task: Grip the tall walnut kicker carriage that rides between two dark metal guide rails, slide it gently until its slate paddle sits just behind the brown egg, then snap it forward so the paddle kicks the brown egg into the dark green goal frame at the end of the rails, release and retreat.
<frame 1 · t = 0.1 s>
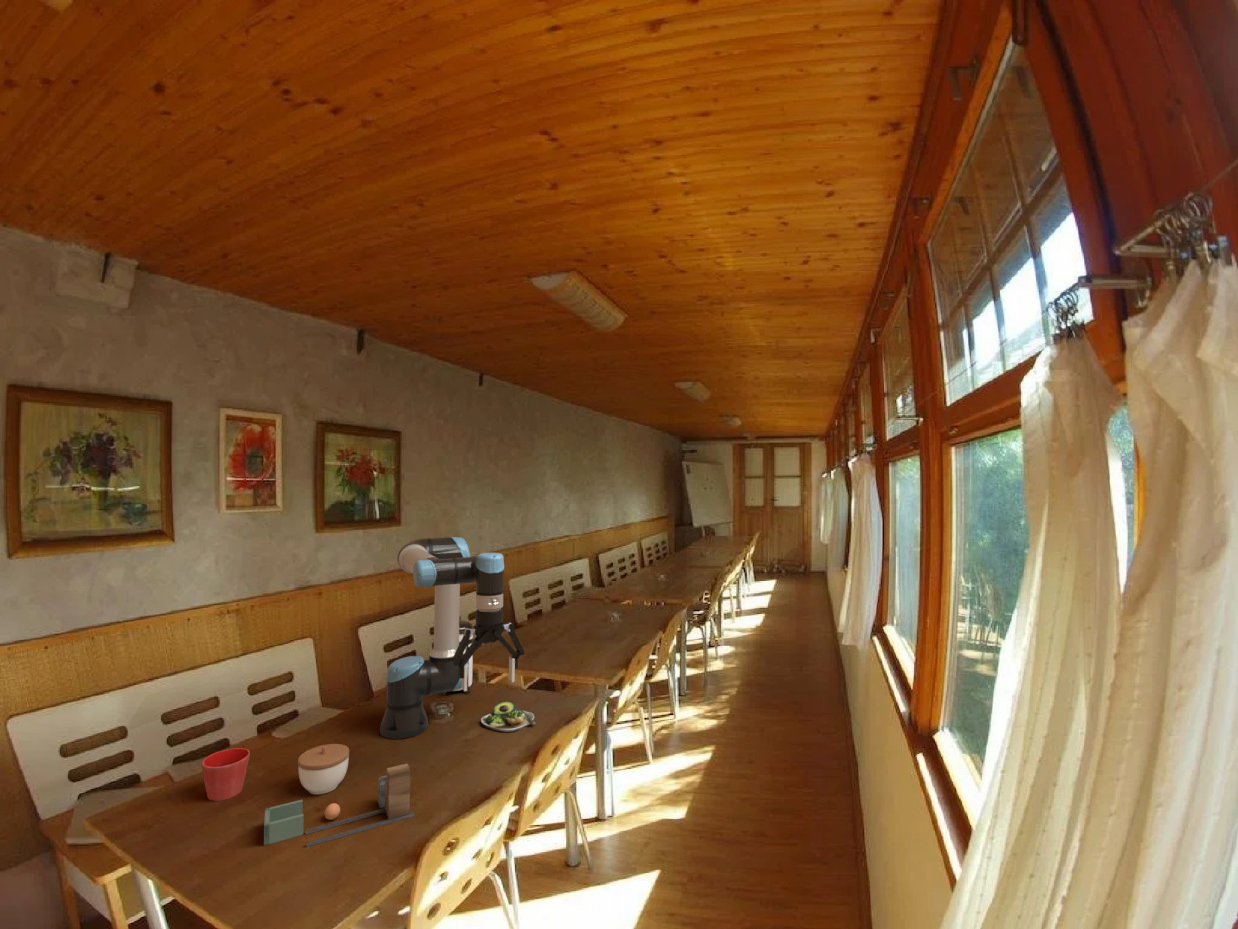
hand: (488, 685, 158), 28 cm above the table, fingers open, 13 cm apart
kicker: (393, 786, 146), point 6 cm above the table, slide at 0.0 cm
coffee press: (457, 691, 228), on the table
avocado toast plate: (507, 722, 200), on the table
lidded bowl: (323, 788, 156), on the table
goal: (283, 831, 137), on the table
guide rails: (361, 824, 140), on the table
flower pot: (225, 794, 153), on the table
brown egg: (332, 818, 142), on the table
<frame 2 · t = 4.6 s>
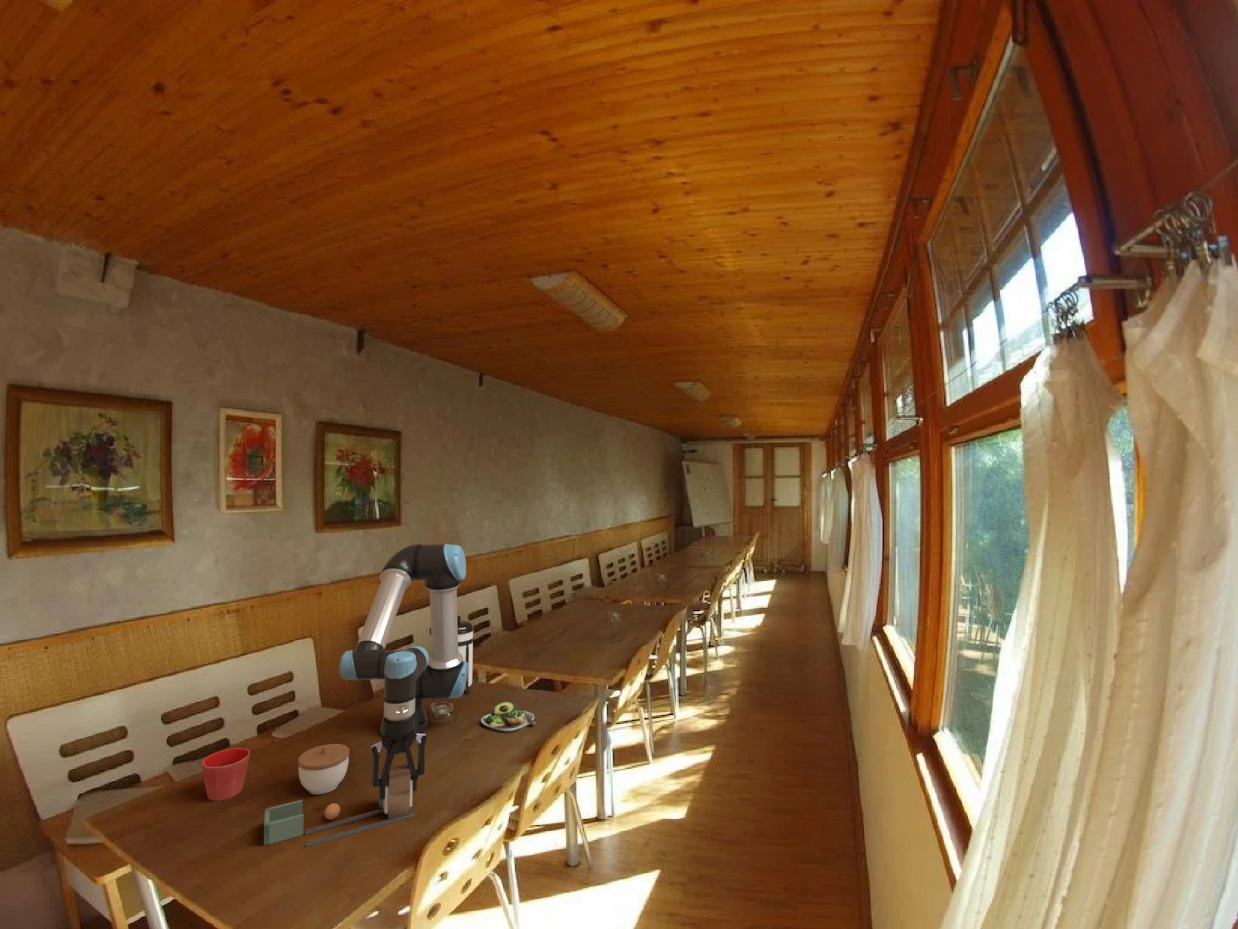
hand: (397, 807, 144), 2 cm above the table, fingers closed on kicker, 5 cm apart
kicker: (393, 786, 146), point 6 cm above the table, slide at 0.0 cm, touching gripper
everything else where it was.
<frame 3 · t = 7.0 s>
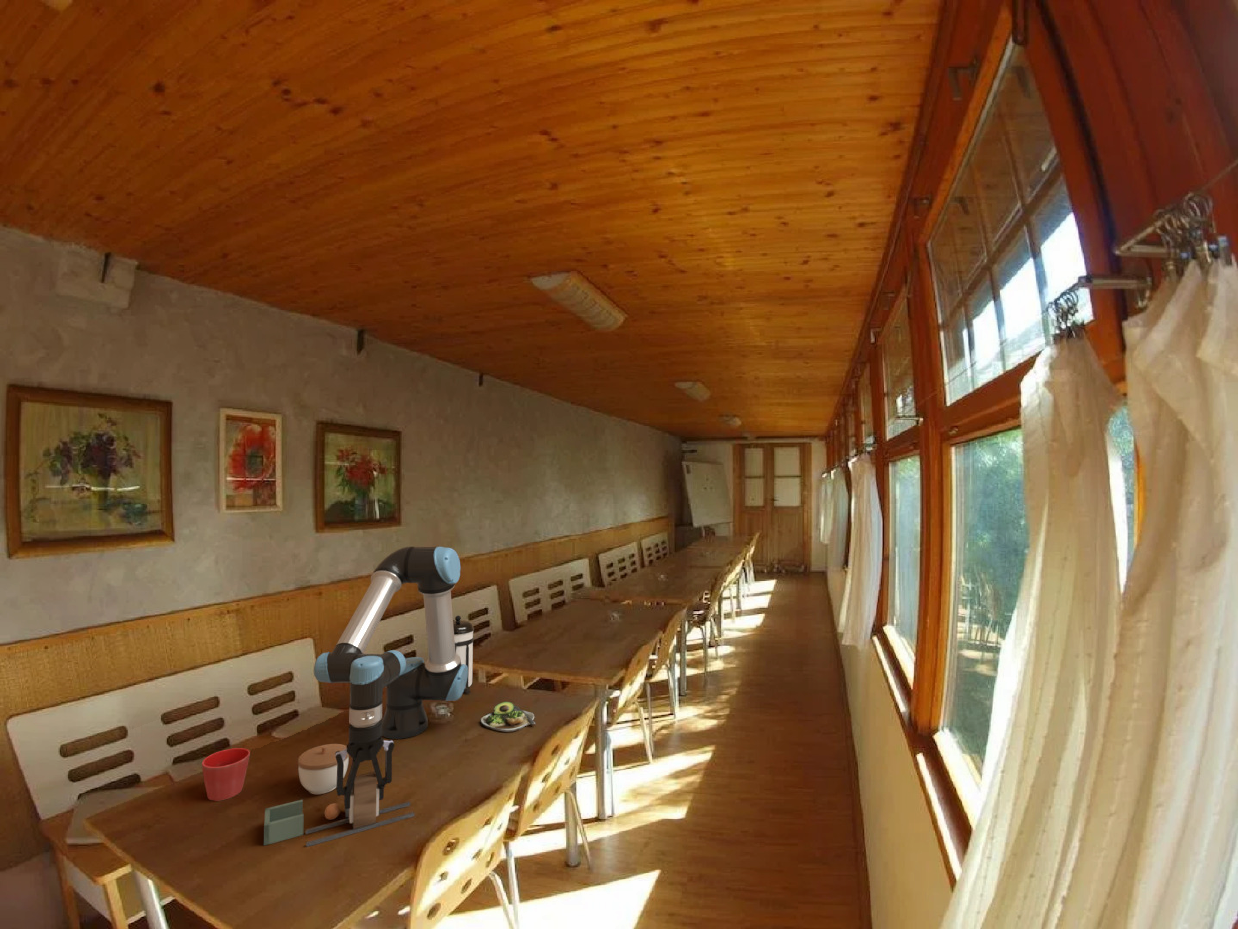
hand: (363, 816, 140), 2 cm above the table, fingers closed on kicker, 5 cm apart
kicker: (360, 794, 142), point 6 cm above the table, slide at 8.0 cm, touching gripper
everything else where it was.
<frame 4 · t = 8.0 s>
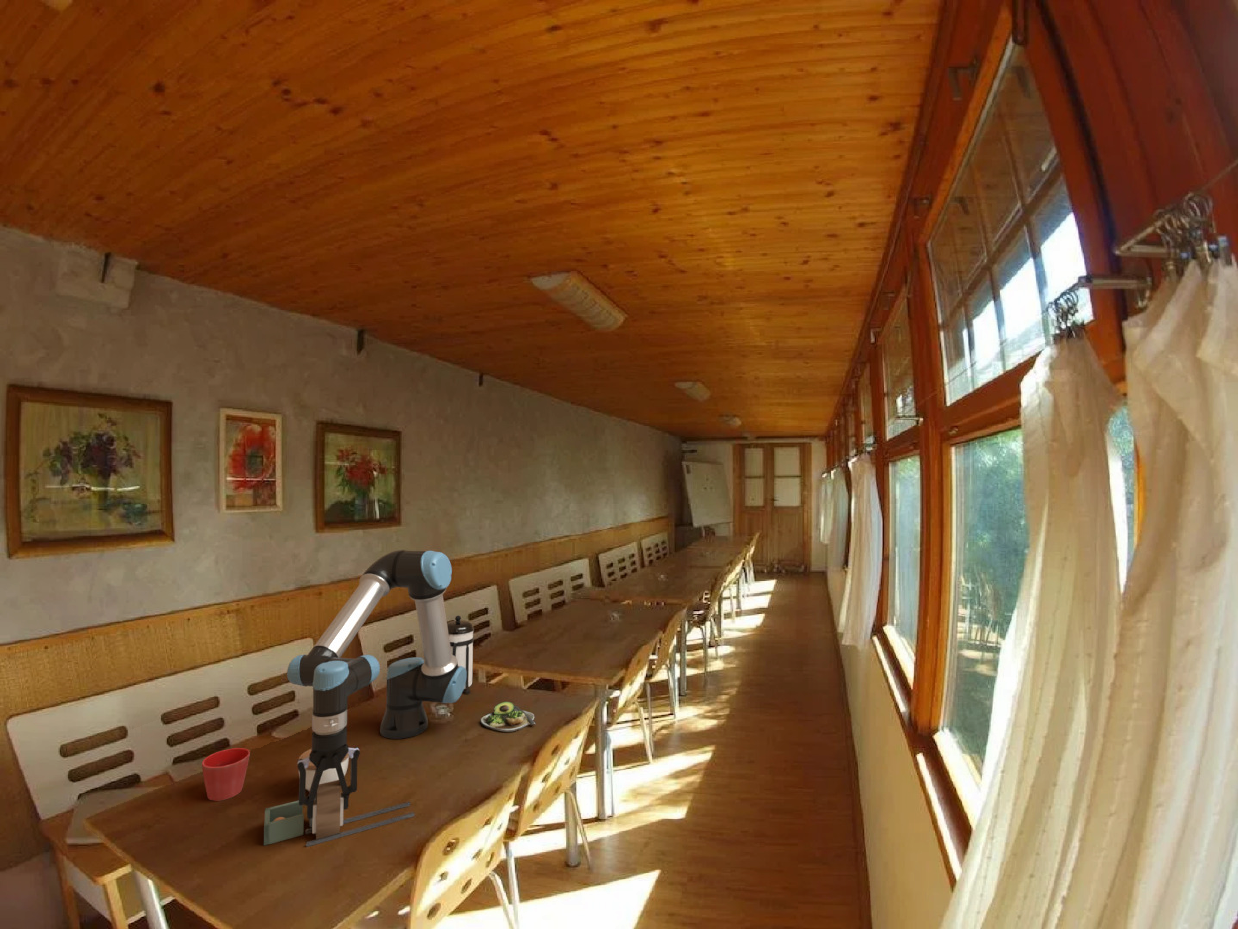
hand: (327, 826, 136), 2 cm above the table, fingers closed on kicker, 5 cm apart
kicker: (324, 803, 138), point 6 cm above the table, slide at 16.0 cm, touching gripper
brown egg: (279, 832, 136), resting in goal
everything else where it was.
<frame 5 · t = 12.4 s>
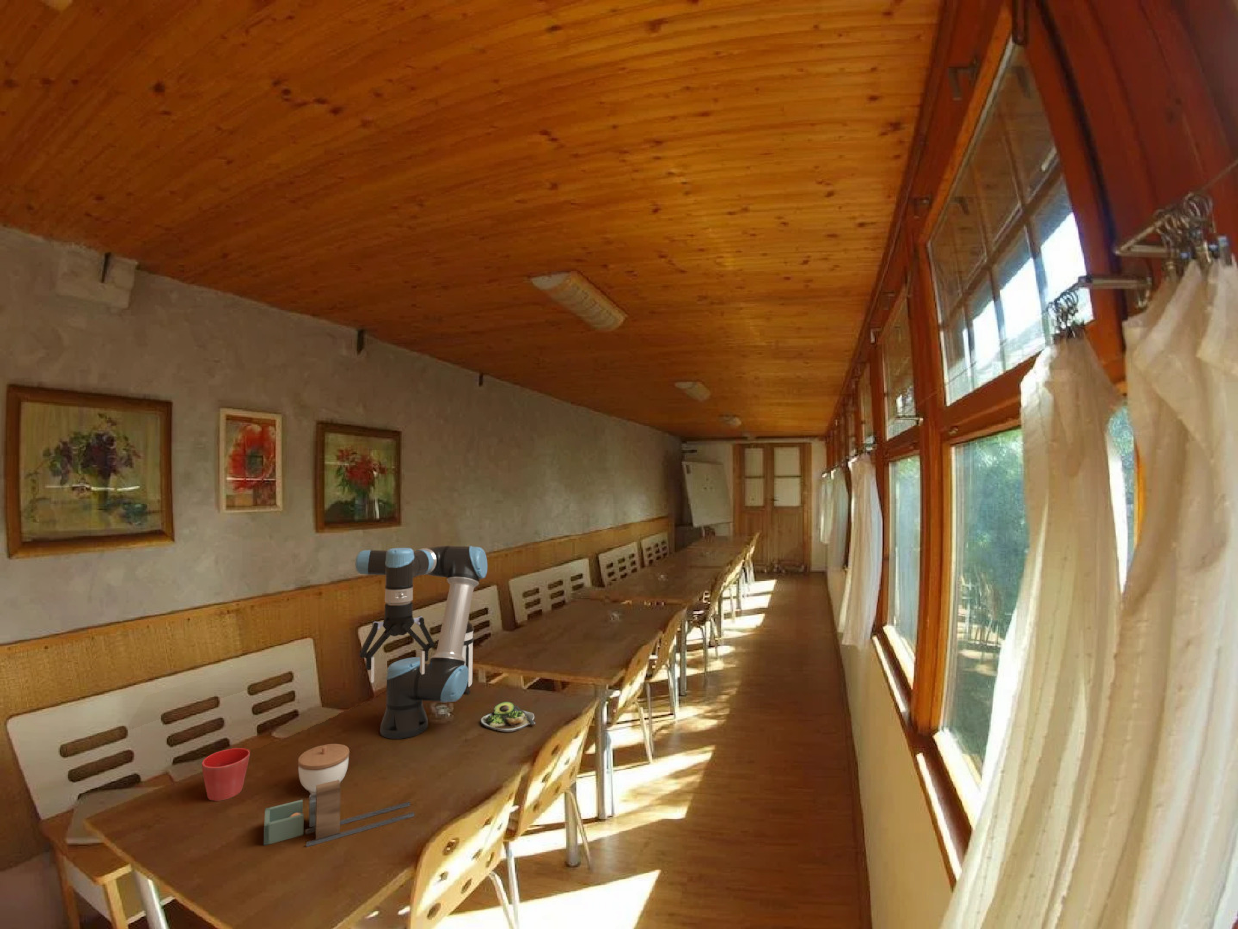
hand: (397, 677, 162), 29 cm above the table, fingers open, 13 cm apart
kicker: (324, 803, 138), point 6 cm above the table, slide at 16.0 cm
brown egg: (287, 820, 137), point 2 cm above the table, tilted 111°
everything else where it was.
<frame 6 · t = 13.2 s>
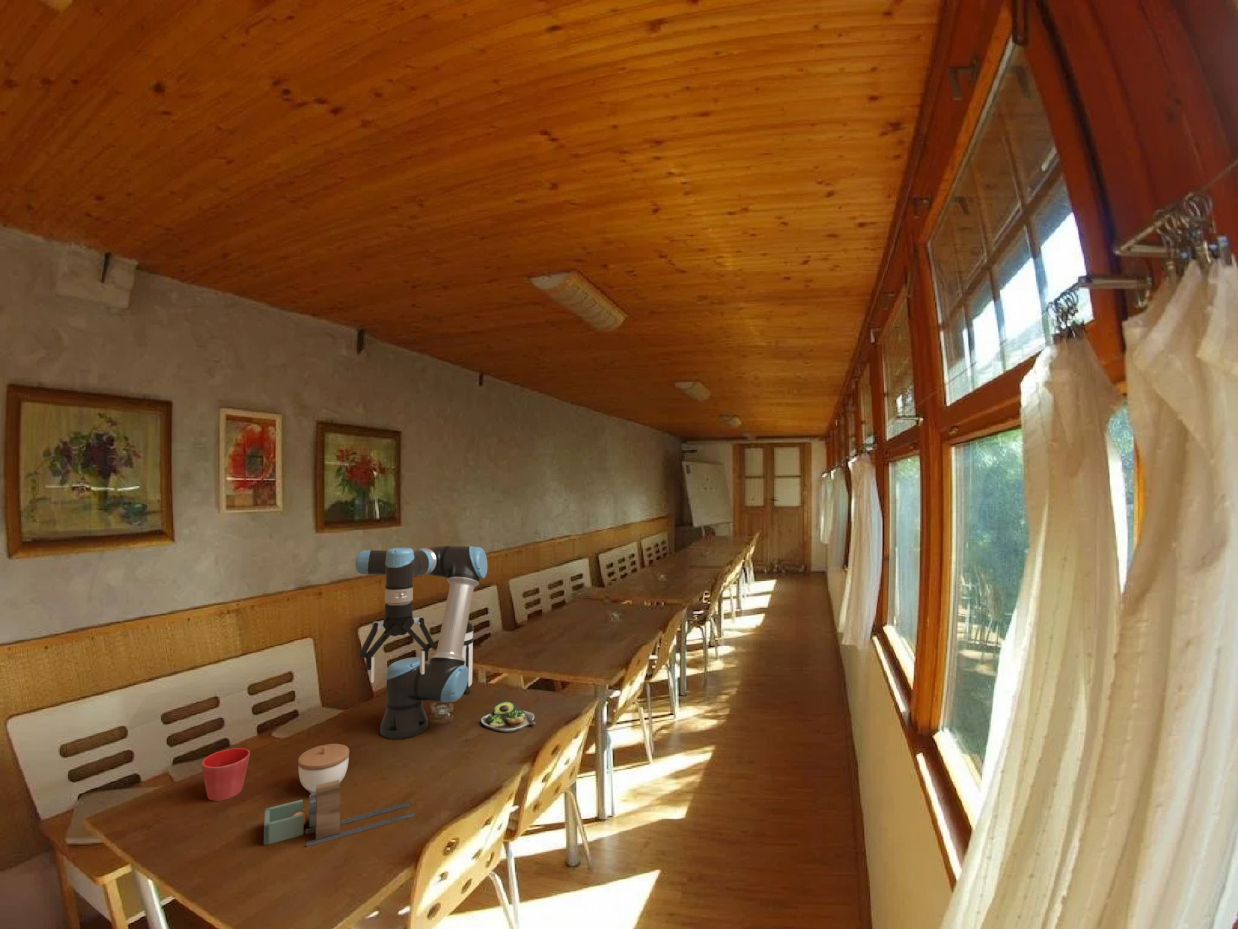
hand: (397, 677, 162), 29 cm above the table, fingers open, 13 cm apart
brown egg: (292, 817, 137), point 3 cm above the table, tilted 132°
everything else where it was.
at the end: brown egg inside the target area on the goal (1.7 cm from its centre), point 3.0 cm above the goal's base; kicker slide at 16.0 cm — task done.
